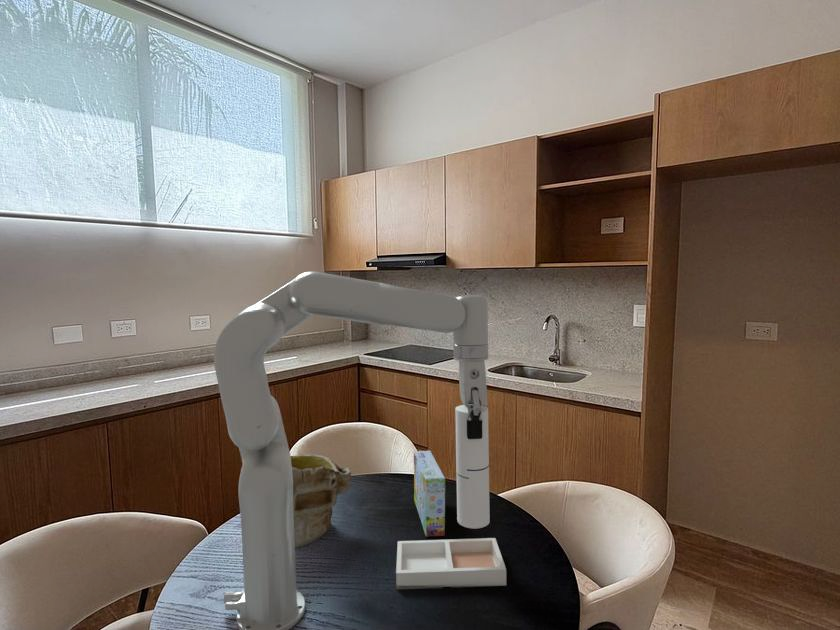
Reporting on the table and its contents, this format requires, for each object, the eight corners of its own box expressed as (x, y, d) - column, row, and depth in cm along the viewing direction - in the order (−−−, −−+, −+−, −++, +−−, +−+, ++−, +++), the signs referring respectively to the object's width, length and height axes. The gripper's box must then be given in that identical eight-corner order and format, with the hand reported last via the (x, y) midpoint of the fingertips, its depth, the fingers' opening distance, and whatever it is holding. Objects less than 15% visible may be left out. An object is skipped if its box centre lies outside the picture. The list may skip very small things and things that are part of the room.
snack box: (447, 536, 114) (446, 477, 113) (425, 538, 113) (424, 479, 112) (431, 498, 135) (430, 448, 134) (412, 500, 134) (411, 450, 133)
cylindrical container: (488, 529, 95) (487, 413, 94) (455, 527, 97) (453, 412, 95) (490, 513, 102) (489, 404, 101) (459, 511, 104) (457, 403, 102)
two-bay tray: (396, 589, 94) (396, 573, 93) (398, 555, 106) (397, 541, 105) (506, 585, 94) (506, 569, 94) (495, 552, 106) (495, 537, 106)
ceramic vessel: (330, 468, 137) (344, 418, 122) (349, 548, 121) (368, 501, 106) (251, 482, 127) (256, 429, 112) (261, 571, 111) (268, 523, 96)
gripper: (495, 357, 89) (496, 445, 90) (481, 346, 106) (482, 420, 107) (457, 358, 89) (459, 446, 90) (449, 347, 106) (451, 421, 107)
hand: (472, 432), depth 98 cm, fingers closed on cylindrical container, 7 cm apart
